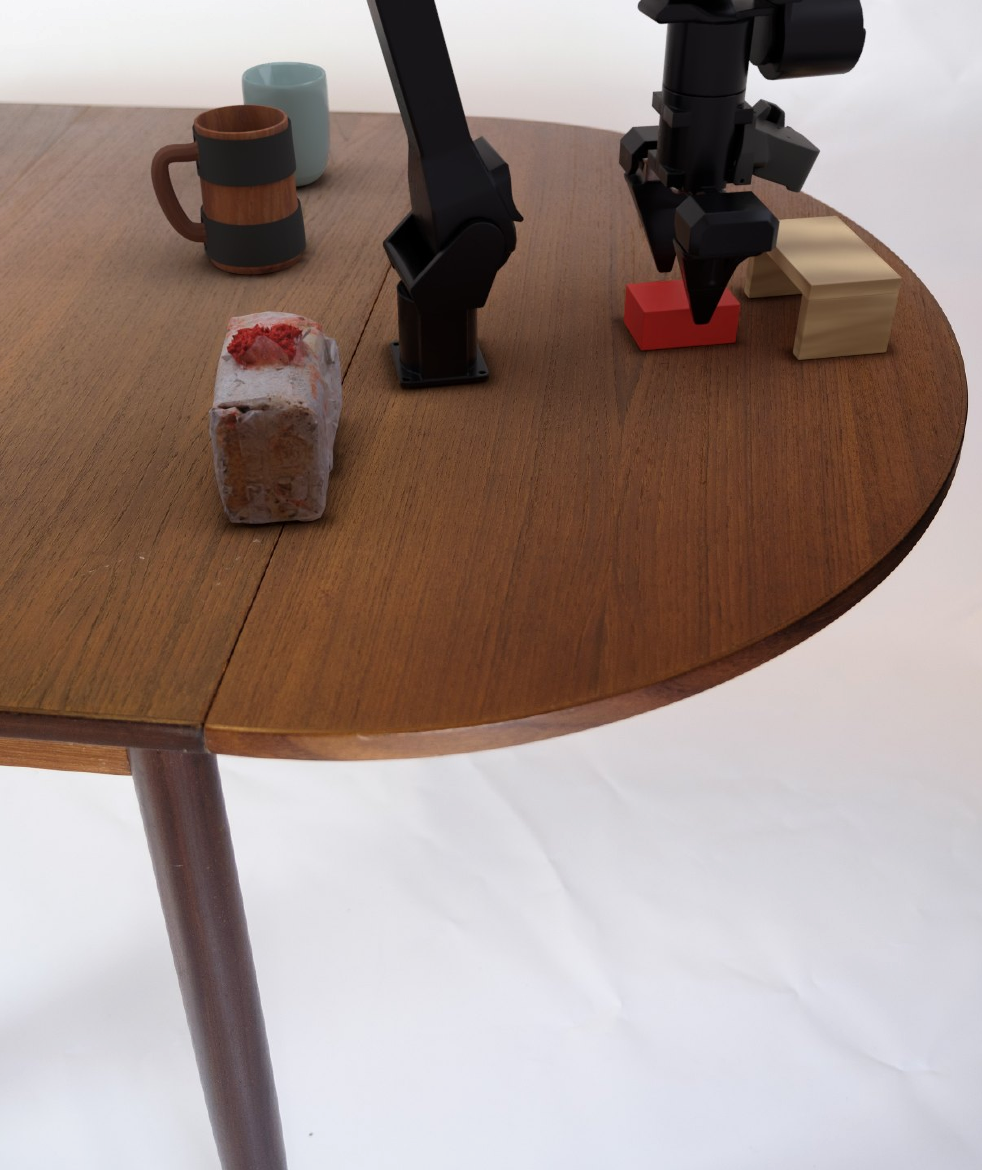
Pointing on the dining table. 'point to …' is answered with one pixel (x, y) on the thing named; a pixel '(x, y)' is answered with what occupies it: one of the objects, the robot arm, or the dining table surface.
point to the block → (675, 317)
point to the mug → (239, 189)
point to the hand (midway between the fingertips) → (682, 296)
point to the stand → (828, 287)
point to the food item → (275, 417)
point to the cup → (296, 109)
